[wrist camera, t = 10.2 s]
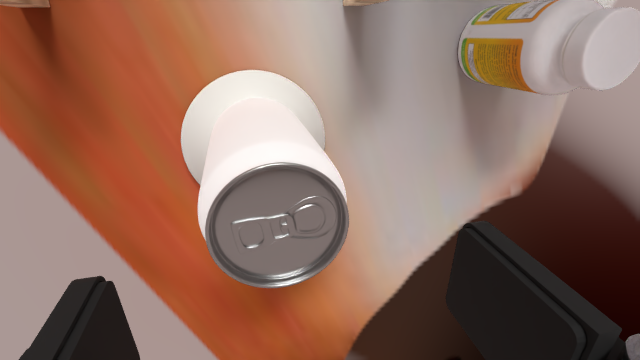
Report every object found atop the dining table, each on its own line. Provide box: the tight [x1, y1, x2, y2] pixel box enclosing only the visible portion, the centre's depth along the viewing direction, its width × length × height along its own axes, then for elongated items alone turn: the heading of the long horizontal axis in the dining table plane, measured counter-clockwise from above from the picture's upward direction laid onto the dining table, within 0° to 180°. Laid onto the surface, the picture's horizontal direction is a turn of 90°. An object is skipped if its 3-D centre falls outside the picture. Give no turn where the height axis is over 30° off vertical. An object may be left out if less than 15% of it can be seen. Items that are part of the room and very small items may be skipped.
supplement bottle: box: [458, 0, 640, 95], centre depth 21 cm, size 5×5×10 cm
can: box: [198, 97, 349, 288], centre depth 18 cm, size 6×6×12 cm
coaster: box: [181, 70, 325, 185], centre depth 24 cm, size 10×10×1 cm
